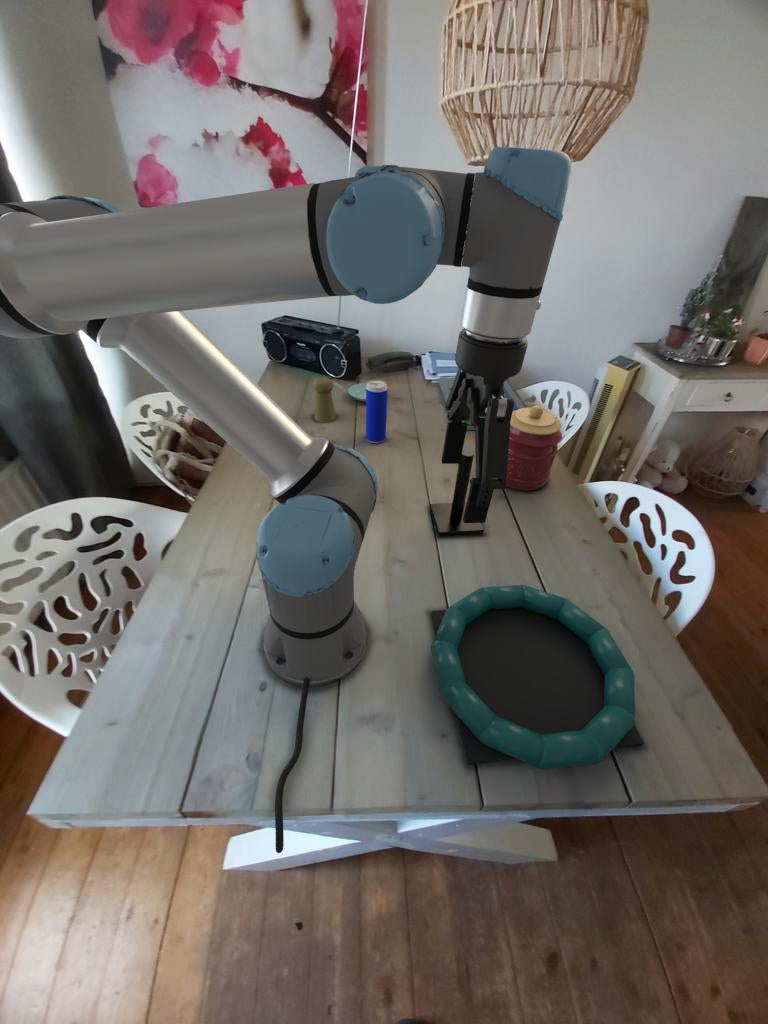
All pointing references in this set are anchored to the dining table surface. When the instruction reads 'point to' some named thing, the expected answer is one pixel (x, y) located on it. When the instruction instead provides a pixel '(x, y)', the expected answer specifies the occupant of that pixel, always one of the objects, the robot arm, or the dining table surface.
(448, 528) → the stand
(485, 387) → the robot arm
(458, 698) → the hoop
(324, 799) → the dining table surface
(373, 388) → the beverage can
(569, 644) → the mat
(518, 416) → the kitchen canister
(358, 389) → the saucer
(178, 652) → the dining table surface
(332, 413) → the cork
